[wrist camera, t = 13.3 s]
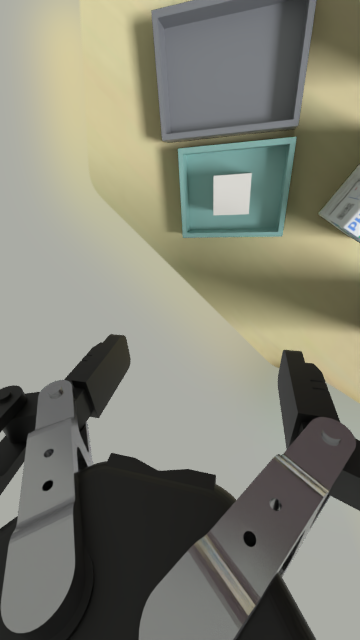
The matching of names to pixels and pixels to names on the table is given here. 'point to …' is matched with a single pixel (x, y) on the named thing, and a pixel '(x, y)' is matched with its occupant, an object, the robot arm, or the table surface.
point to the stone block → (231, 194)
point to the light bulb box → (345, 207)
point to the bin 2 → (236, 158)
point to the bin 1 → (231, 66)
